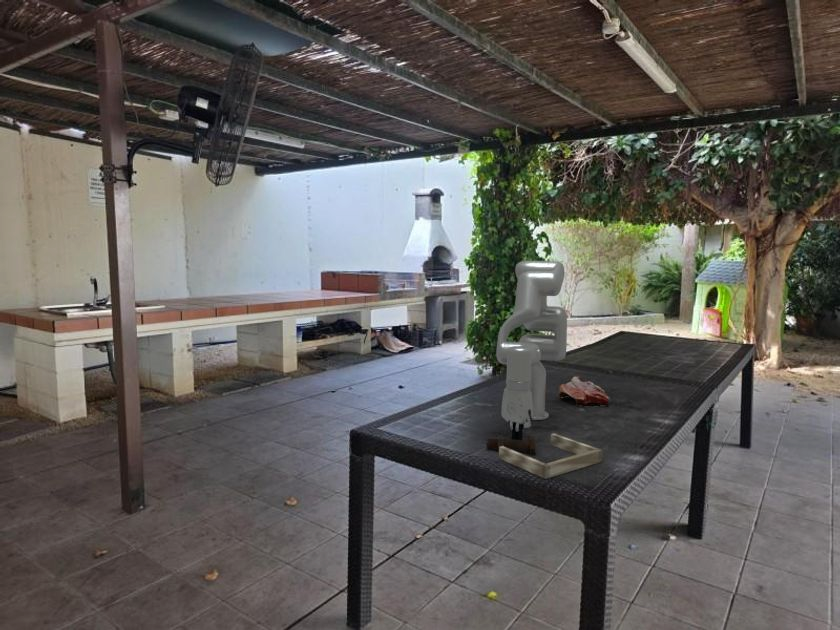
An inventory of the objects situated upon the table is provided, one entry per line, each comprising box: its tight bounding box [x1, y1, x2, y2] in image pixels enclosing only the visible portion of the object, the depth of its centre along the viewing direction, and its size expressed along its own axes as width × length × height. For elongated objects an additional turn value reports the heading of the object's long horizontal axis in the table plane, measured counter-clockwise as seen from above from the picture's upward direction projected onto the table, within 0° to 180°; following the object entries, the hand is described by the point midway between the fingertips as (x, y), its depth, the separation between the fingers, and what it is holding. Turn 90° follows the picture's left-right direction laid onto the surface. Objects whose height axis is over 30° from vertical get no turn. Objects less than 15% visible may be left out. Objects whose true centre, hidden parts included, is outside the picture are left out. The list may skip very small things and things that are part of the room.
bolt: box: [485, 435, 537, 455], centre depth 167 cm, size 6×5×15 cm
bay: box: [498, 433, 603, 480], centre depth 159 cm, size 18×24×4 cm
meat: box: [558, 376, 610, 407], centre depth 228 cm, size 21×21×10 cm
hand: (516, 441), depth 171 cm, fingers closed
